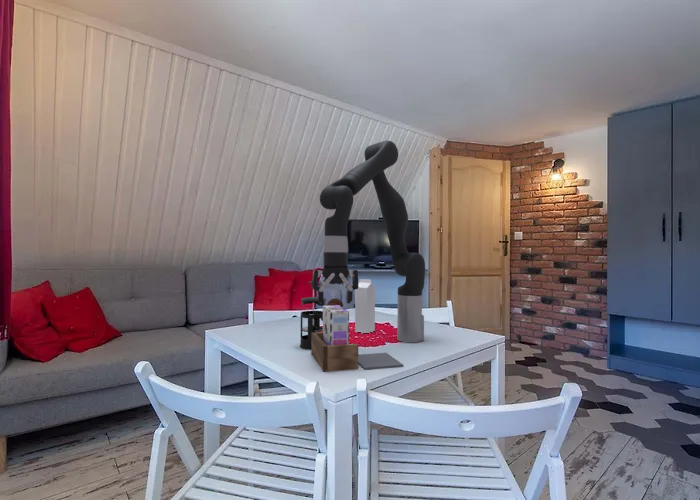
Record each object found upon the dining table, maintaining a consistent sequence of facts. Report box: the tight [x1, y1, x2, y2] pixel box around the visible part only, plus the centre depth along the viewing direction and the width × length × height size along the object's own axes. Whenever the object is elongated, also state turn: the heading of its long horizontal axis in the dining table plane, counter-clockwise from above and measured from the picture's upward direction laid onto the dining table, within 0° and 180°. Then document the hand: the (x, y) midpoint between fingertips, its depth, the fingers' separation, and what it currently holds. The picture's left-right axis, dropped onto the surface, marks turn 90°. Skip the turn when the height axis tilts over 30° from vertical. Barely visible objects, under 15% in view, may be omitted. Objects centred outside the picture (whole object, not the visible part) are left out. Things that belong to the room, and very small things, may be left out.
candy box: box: [322, 305, 350, 346], centre depth 122 cm, size 14×6×16 cm, turn 13°
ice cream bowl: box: [320, 297, 344, 322], centre depth 156 cm, size 11×11×15 cm
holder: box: [310, 331, 359, 373], centre depth 122 cm, size 10×19×7 cm, turn 16°
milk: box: [354, 278, 376, 334], centre depth 164 cm, size 6×6×22 cm
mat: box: [358, 352, 404, 371], centre depth 121 cm, size 12×14×1 cm
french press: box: [299, 280, 327, 351], centre depth 140 cm, size 12×9×23 cm
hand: (335, 303), depth 122 cm, fingers open, 8 cm apart
